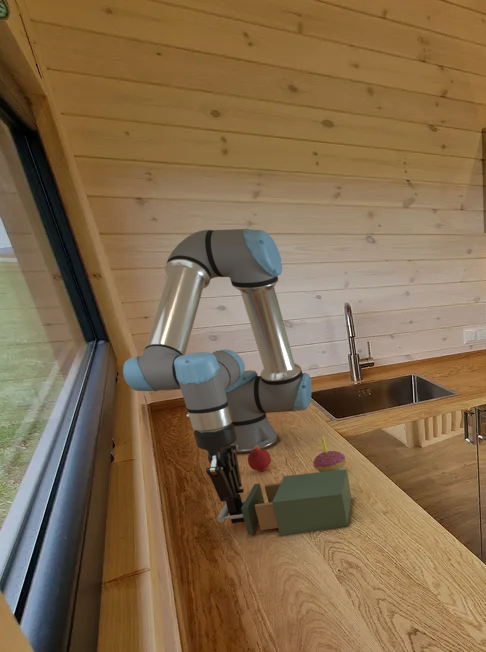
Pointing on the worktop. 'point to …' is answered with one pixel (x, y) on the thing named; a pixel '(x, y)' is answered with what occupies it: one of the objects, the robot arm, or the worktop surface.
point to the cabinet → (312, 502)
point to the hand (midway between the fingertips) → (239, 520)
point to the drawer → (256, 509)
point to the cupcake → (329, 460)
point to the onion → (259, 459)
